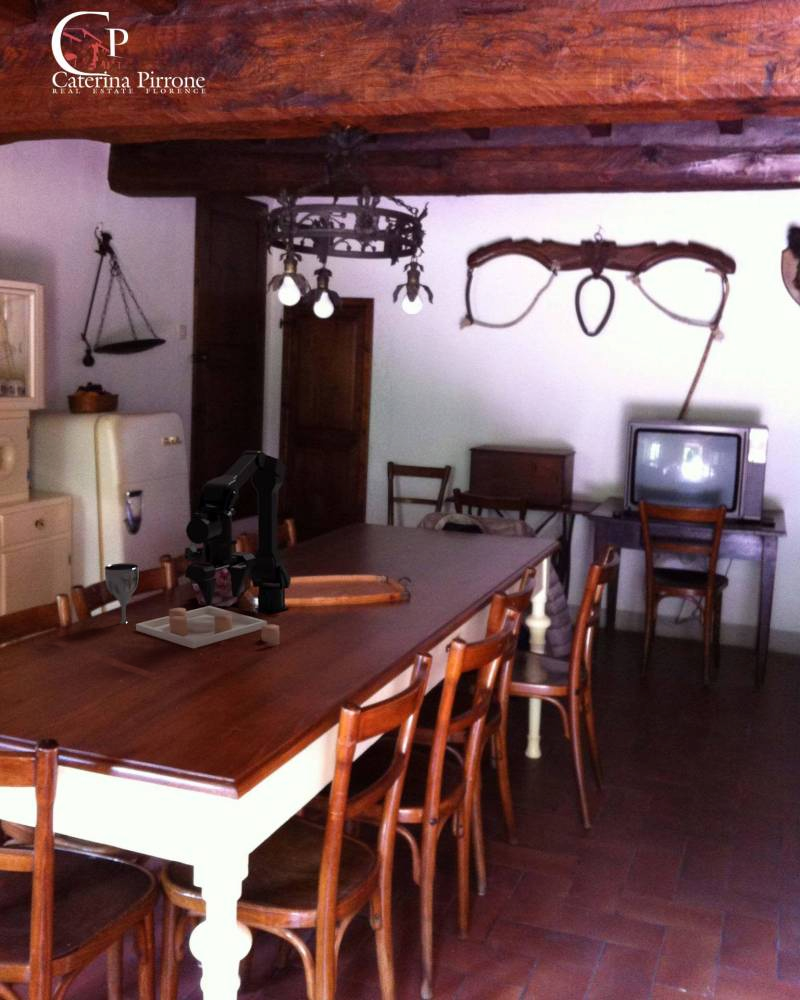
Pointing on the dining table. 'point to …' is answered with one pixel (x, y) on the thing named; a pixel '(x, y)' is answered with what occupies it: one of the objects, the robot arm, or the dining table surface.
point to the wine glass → (122, 582)
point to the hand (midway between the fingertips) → (222, 601)
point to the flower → (222, 590)
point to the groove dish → (201, 627)
